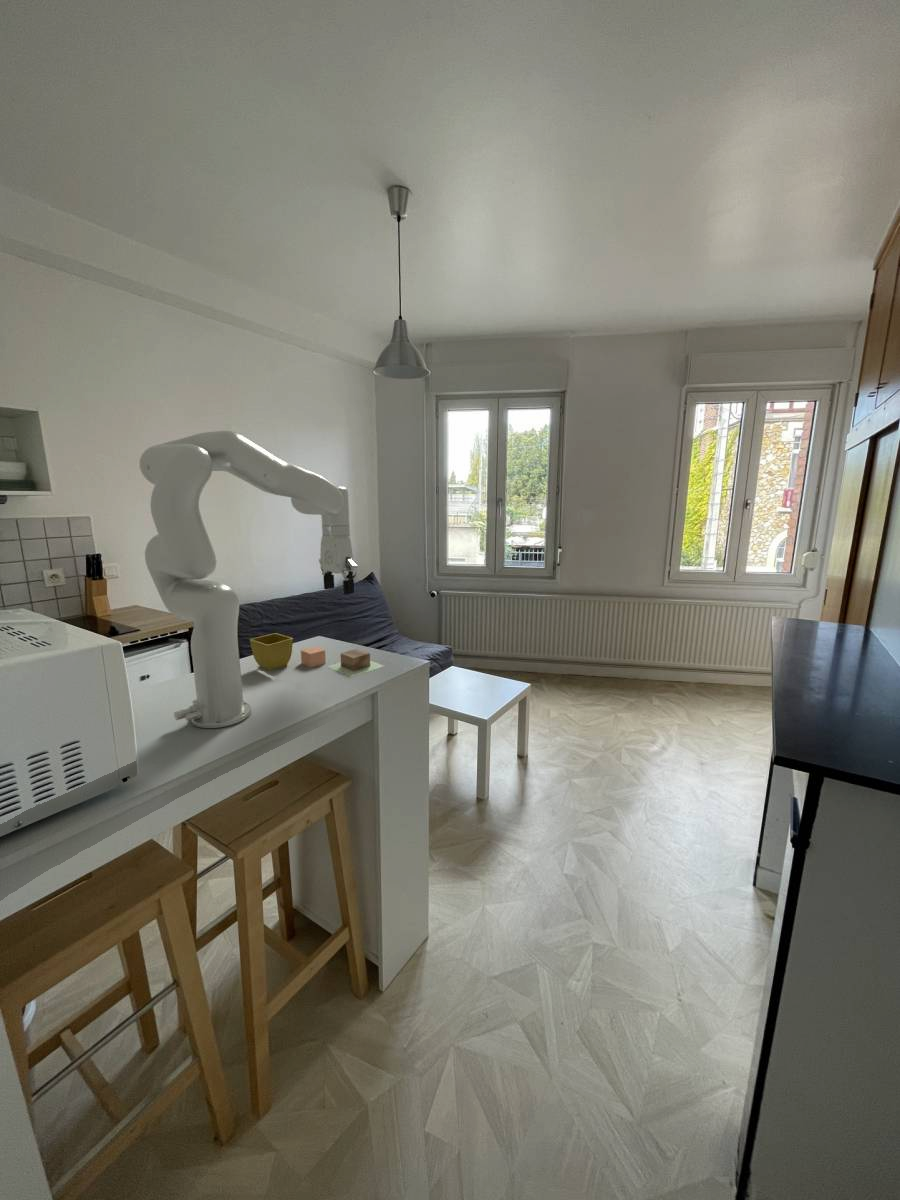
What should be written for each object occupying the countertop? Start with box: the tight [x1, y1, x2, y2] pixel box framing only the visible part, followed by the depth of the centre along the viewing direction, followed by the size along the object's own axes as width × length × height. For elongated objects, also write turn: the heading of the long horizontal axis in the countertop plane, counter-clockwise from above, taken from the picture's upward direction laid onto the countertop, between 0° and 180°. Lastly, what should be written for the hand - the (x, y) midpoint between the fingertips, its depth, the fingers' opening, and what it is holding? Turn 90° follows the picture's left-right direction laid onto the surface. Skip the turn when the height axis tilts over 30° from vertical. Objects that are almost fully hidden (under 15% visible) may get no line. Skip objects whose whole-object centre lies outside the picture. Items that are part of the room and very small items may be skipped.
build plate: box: [326, 660, 385, 678], centre depth 144 cm, size 12×12×1 cm
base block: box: [340, 648, 371, 671], centre depth 143 cm, size 6×6×4 cm
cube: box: [300, 645, 326, 668], centre depth 145 cm, size 5×5×5 cm
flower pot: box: [249, 632, 294, 671], centre depth 143 cm, size 9×9×9 cm
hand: (338, 591), depth 141 cm, fingers open, 9 cm apart
